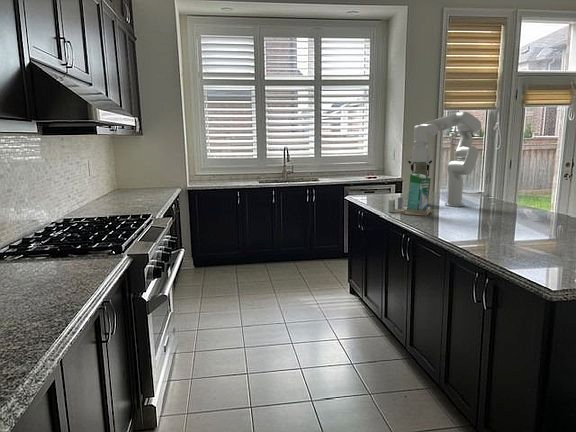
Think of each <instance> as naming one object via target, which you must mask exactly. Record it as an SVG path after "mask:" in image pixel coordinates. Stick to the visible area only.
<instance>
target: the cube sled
mask: <svg viewBox="0 0 576 432" xmlns="http://www.w3.org/2000/svg"><path fill="white" fill-rule="evenodd" d="M403 201H404V200H403V196H398V197H397V210H404V209H405V208H406V207H407V206H403Z"/></svg>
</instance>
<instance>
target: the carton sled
mask: <svg viewBox="0 0 576 432" xmlns="http://www.w3.org/2000/svg"><path fill="white" fill-rule="evenodd" d="M405 207H406V208H405V209H398V208H397V209H396V198H390V199H388V211H387V212H388V213H398V214H399V213H403V215H409V216H411V215H413V216H428V215H429V214H430V213H431V206H428V209H427V210H426V211H425V210H407V206H405Z"/></svg>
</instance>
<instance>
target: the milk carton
mask: <svg viewBox="0 0 576 432" xmlns="http://www.w3.org/2000/svg"><path fill="white" fill-rule="evenodd" d="M409 175H410V177H409V186H408V187H409V188H408V195H407V196H408V198H407V206H406V207H407V210H425V211H426V210H427V209H428V207H429V198H430V187H431V178H430V177H429V176H428V177H426V176H425V175H422V174H412V173H410V174H409Z"/></svg>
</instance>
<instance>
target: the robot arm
mask: <svg viewBox="0 0 576 432" xmlns="http://www.w3.org/2000/svg"><path fill="white" fill-rule="evenodd" d="M454 127H456V128H457V129H456V130H457V131H458V134H459V141H458V144H457V146H456V149H455V152H454V157H455V159H457V160H451V161H449V163H448V164H447V168H446V169H447V175H448V185H447V186H448V187H447V202H445V204H444V205H445V206H446V207H464V206H465V204H464V203H462V202H463V185H464V178H463V176H469V175H470V174H472V173H473V170H474V168H475V166H476V163H477V161H478V158H479V149H478V148H477V147H476V146H475V145H474V146H473V141H474V140H473V139H474V138H473V136H472V133H477V132H479V131H480V130H481V128H482V122H481V120H479V119H478V118H477V117H475V116H474V115H473V114H472V113H470V112H467V111H458V112H456V111H455V112H452V113H450V114H448V115H446V116H443V117H440V118H436V119H433V120H428V121H426V122H424V123H421V124H419V125H414V128H413V147H412V152H411V155H410V156H409V157H407V158H406V160H407V163H408V164H409V166H410V170H411V171H413V170H414V171H415V169H414V168H415V167H414V165H415V163H414V162H426V163H427V164H426V170H427V172H428V170H429V171H430V167H429V164H432V163H433V161H434V158H435V157H433V156H432V155H429V147H428V145H429V142H427V137H433V136H435V135H437V134H438V132H441V131H446V130H448V129H451V128H454ZM410 159H411V160H410ZM413 163H414V165H413Z"/></svg>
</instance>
